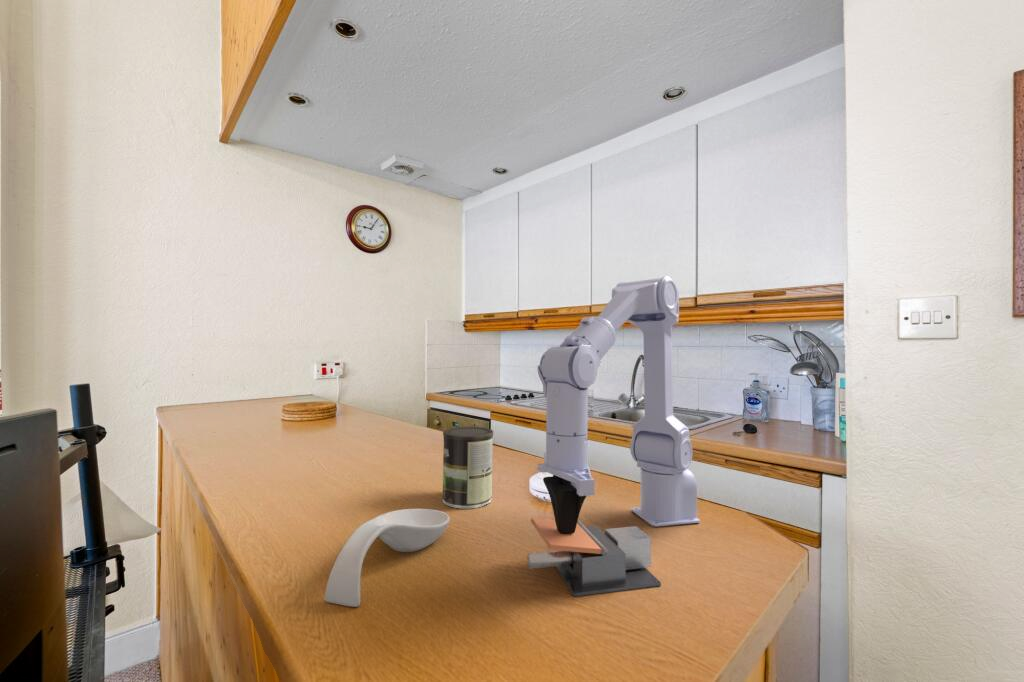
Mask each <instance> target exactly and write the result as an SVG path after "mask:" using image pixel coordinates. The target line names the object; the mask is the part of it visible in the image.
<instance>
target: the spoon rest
mask: <svg viewBox="0 0 1024 682" xmlns="http://www.w3.org/2000/svg"><path fill="white" fill-rule="evenodd" d="M450 520H451V518H450V516H449V515H448V514H447V513H446V512H444V511H441V510H437V509H430V508H406V509H403V508H402V509H397V510H392V511H389V512H385V513H382V514H380V515H377V516H376V517H374V518H372V519H370V520H367V521H364V523H362V524H360V525H359V526H358V527H357V528H356V529H355V530H354V531H353V532H352V534H350V536H349V538H348V539H347V541H346V542H345V544H344V545H343V547H342V548H341V550H340V551H339V554H338V556H337V558H336V559H335V562H334V564H333V567H332V568H331V571H330V574H329V577H328V579H327V583H326V586H325V590H324V591H325V593H324V601H325V602H327V603H330V604H334V605H341V606H345V607H353V608H357V607H359V606H361V578H362V577H361V576H362V575H361V574H362V567H363V562H364V560H365V557H366V556H367V552H368V550H369V549H370V547H371V545H372V544H373V543H374V541H375V540H376V539H377V538H378V537H379V538H380V540H382V542H383V543H384V544H386V545H387V546H388V547H390V548H391V550H393V551H396V552H400V553H411V552H413V553H414V552H417V551H420V550H423V549H425V548H427V547H429V545H431V544H433V543H434V542H436V541H437V540H438V539H439V538H440V537H441V536H442V535H443V534H444V533H445V531H446V530H447V528H448V527H449V524H450Z"/></svg>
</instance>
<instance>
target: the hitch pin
mask: <svg viewBox="0 0 1024 682" xmlns="http://www.w3.org/2000/svg"><path fill="white" fill-rule="evenodd" d="M604 533H605V534H606V535H607V536H608V537H609V538H610V539H611V540H612V541H613V542H614V543H615V544H616V545H617V546H618V547H619V548H620V549H621V550H622V551H623V552H624V553H626V570H629V569H638V568H646V569H648V568H651V567H652V538H651V537H650V536H649V535H648V534H647V533H645V532H644V531H643V530H642V529H640V528H639V527H638V526H637V525H635V526H633V525H632V526H624V527H612V528H604ZM526 557H527V559H526V560H527V566H528V569H529V570H531V569H532V570H533V569H540V568H541V569H542V568H550V567H555V566H561V565H571V564H573V552H572V551H559V550H552V551H545V552H544V551H543V552H535V553H533V552H532V553H528V554H527V556H526Z"/></svg>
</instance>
